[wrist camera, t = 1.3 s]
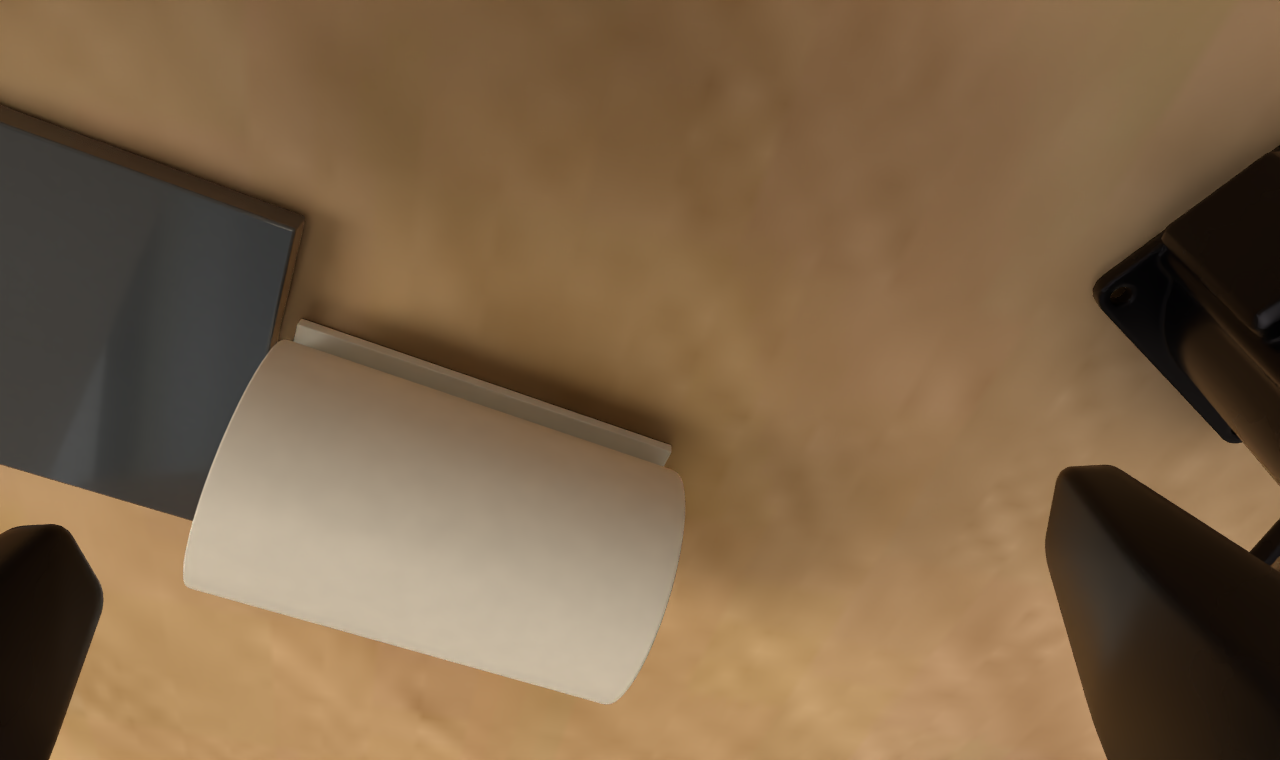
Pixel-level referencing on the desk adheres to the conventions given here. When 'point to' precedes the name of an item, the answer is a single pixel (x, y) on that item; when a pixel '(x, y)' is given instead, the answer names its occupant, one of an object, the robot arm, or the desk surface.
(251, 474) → the cylinder
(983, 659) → the desk surface
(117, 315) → the slate coaster
